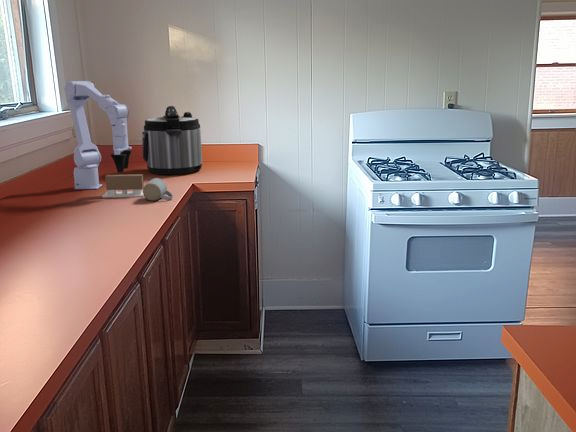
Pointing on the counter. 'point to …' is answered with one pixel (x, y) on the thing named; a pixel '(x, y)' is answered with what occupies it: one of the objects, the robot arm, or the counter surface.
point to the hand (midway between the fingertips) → (122, 170)
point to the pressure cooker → (172, 143)
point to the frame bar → (124, 182)
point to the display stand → (123, 193)
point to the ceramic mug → (156, 190)
